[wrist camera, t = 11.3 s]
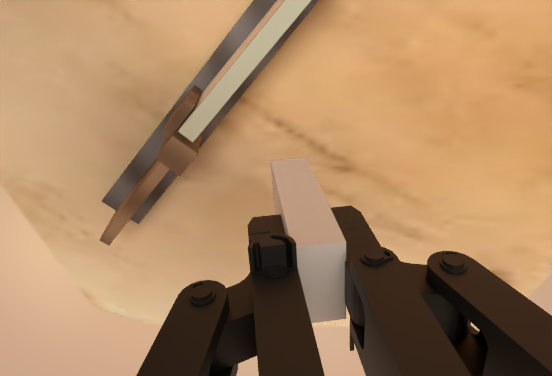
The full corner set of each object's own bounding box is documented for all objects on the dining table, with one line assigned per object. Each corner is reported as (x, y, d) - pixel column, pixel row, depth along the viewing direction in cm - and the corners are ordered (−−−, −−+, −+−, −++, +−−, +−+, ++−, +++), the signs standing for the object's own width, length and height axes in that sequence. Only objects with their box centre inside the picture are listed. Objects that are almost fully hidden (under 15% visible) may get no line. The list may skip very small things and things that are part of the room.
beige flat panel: (286, -14, 36) (298, -17, 29) (298, -2, 37) (313, -2, 30) (188, 108, 40) (178, 131, 33) (200, 117, 40) (192, 142, 33)
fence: (353, -133, 34) (391, -174, 26) (389, -90, 36) (435, -117, 28) (103, 199, 44) (73, 244, 36) (139, 221, 46) (118, 270, 37)
